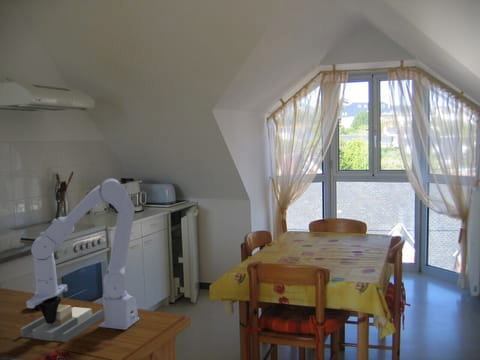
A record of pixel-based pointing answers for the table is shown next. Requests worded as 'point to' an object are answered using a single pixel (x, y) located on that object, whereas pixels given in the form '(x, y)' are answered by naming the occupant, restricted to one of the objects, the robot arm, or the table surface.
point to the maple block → (63, 314)
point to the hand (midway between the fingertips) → (50, 322)
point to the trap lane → (62, 326)
